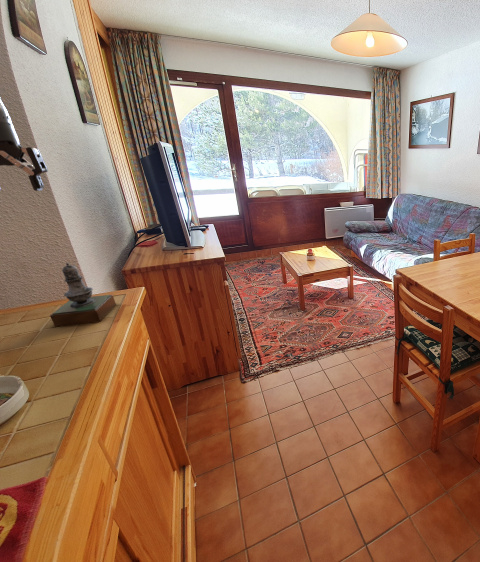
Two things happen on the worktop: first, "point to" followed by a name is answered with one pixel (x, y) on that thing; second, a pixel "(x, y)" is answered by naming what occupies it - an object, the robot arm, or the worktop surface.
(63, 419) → the worktop surface
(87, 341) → the worktop surface
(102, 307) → the walnut stand
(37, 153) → the robot arm
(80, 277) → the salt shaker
